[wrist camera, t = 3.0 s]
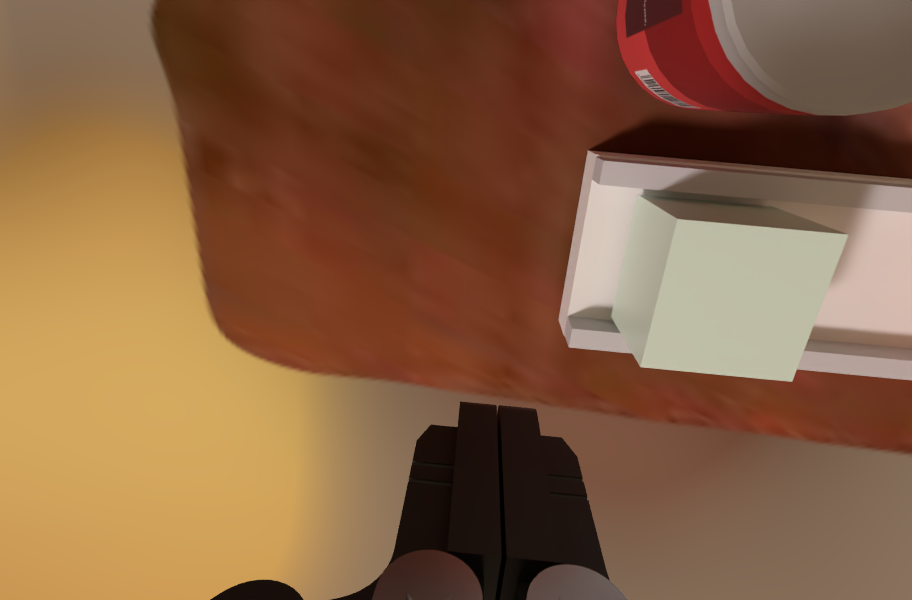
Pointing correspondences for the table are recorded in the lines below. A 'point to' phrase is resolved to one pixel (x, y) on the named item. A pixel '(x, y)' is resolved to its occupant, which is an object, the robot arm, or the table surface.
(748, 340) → the pale sage green cube
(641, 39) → the canned food
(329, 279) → the table surface
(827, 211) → the channel rail
